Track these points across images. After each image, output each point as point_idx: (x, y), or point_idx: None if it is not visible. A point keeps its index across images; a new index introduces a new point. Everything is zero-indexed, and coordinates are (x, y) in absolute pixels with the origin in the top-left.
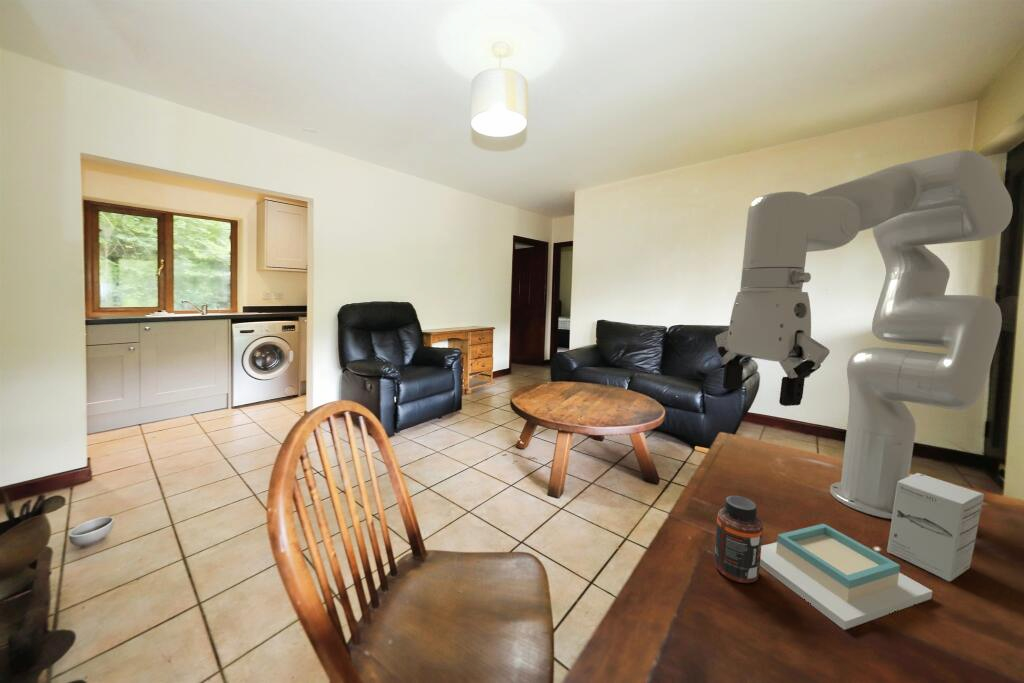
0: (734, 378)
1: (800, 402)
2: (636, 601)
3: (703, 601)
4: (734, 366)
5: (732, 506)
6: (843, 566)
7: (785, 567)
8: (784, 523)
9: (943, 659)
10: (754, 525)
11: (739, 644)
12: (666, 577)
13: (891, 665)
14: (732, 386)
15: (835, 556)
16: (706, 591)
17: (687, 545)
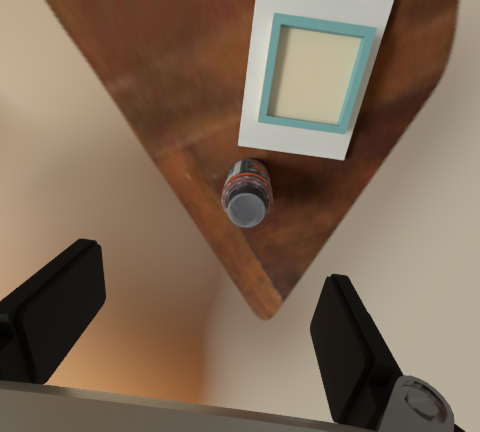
0: (78, 303)
1: (348, 279)
2: (237, 277)
3: (260, 235)
4: (37, 360)
5: (247, 227)
6: (325, 92)
7: (277, 135)
8: (210, 6)
9: (404, 110)
10: (269, 206)
11: (299, 244)
12: (226, 241)
13: (375, 161)
14: (99, 284)
15: (311, 77)
16: None
17: (198, 189)
